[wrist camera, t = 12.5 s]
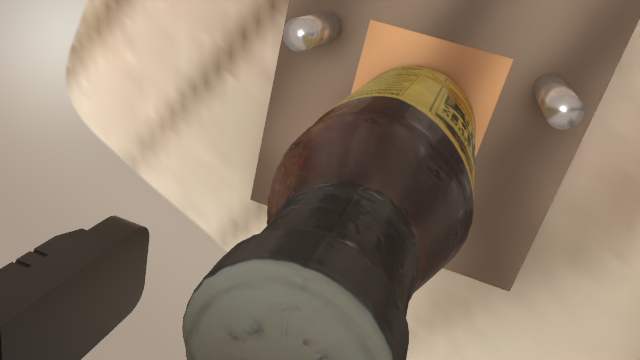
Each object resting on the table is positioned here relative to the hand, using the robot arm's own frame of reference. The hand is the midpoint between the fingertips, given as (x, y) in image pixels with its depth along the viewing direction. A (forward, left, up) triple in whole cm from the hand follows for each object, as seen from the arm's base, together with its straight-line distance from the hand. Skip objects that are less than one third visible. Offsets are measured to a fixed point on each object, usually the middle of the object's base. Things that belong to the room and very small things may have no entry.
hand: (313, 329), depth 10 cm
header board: (0, 0, -20) cm, 20 cm away
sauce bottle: (0, 0, -18) cm, 18 cm away
